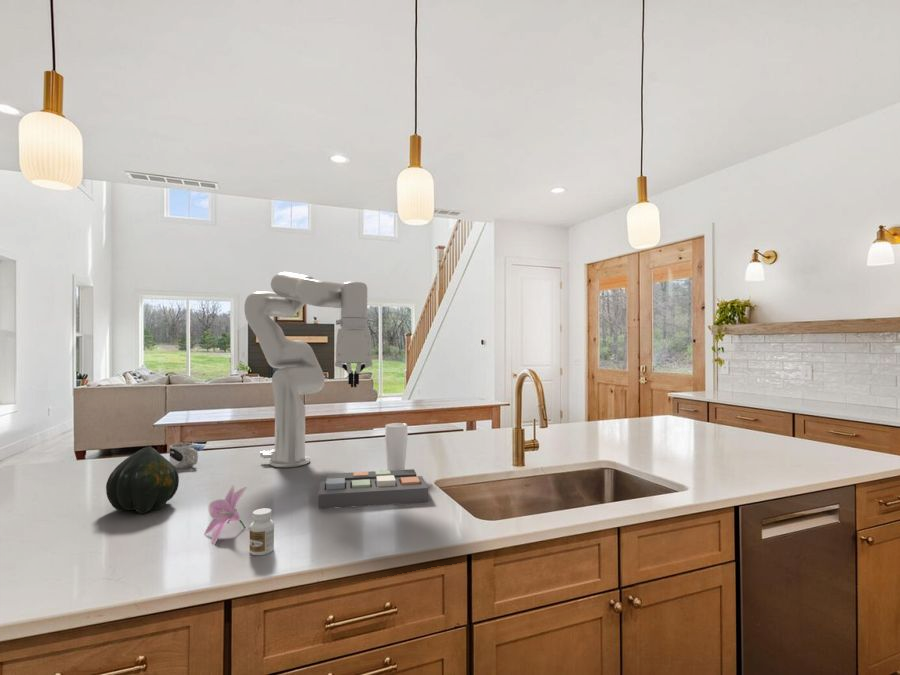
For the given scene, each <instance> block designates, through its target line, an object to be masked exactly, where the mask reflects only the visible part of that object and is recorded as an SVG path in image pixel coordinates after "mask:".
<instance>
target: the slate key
mask: <svg viewBox="0 0 900 675" xmlns="http://www.w3.org/2000/svg"><path fill="white" fill-rule="evenodd" d="M325 481H326V490H332V489H345V478H332V479H327V478H326V480H325Z"/></svg>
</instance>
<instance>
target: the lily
mask: <svg viewBox="0 0 900 675" xmlns="http://www.w3.org/2000/svg"><path fill="white" fill-rule="evenodd" d="M247 489H248V486H244V487H242V488H240V489H239V490H237V491H236V492H235V484H232V486H231V487H230V489H229V490H228V492H227V494H226V496H225V498H224V499H221V498H220V499H215V500H213V501H211V502H210V503H209V504H208V513H209V515H210V517H211V518H212V520H211V521H210V523H209V524H208V526H207V527H206V529H205V532H204V534H203V535H207V534H209V533H210V532H211V543H212V545H213V546H215V545H216V543H217V541H218V539H219V537H220V535H221V533H222V531H223V530H224V528H225V526H226V524H233V523H236V522H239V523H240V524H241V525H242V527H243V528H244V529H246V526H245V525H244V523H243V521H242V520H241V518H240V517H241V516H240V513H239V511H238V509H237V508H236V507H237V505H238V503H239V501H240V500H241V498H242V497H243V496H244V493H245V492H246V491H247Z"/></svg>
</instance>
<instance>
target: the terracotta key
mask: <svg viewBox="0 0 900 675" xmlns="http://www.w3.org/2000/svg"><path fill="white" fill-rule="evenodd" d="M400 484H401V485H417V484H420V481H419V479H418V477H400Z"/></svg>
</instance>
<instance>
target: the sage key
mask: <svg viewBox="0 0 900 675" xmlns="http://www.w3.org/2000/svg"><path fill="white" fill-rule="evenodd" d="M366 487H370V479H366V480H352V488H366Z"/></svg>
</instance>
